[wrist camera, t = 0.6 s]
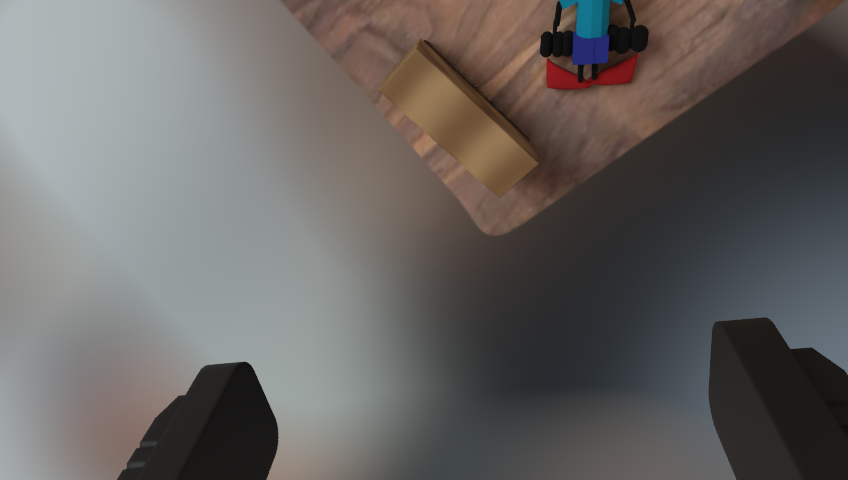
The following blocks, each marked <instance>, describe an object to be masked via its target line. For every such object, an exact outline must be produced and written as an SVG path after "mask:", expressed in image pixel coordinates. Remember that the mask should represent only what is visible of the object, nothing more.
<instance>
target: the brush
mask: <svg viewBox="0 0 848 480" xmlns="http://www.w3.org/2000/svg"><path fill="white" fill-rule="evenodd" d="M379 92H381V93H382V94H383V95H384V96H385V97H386V98H387V99H388V100H390V101H391V102H392V103H393V104H394V105H395V106H396V107H397V108H399V109H400V110H401V111H402V112H403V113H404V114H405V115H406V116H408V117H409V118H410V119H411V120H412V121H413V122H414V123H415V124H417V125H418V126H419V127H420V128H421V129H422V130H423V131H424V132H426V133H427V134H428V135H429V136H430V137H431V138H432V139H433V140H435V141H436V142H437V143H438V144H439V145H440V146H441V147H442V148H444V149H445V150H446V151H447V152H448V153H449V154H450V155H451V156H452V157H454V158H455V159H456V160H457V161H458V162H459V163H460V164H461V165H463V166H464V167H465V168H466V169H467V170H468V171H469V172H470V173H472V174H473V175H474V176H475V177H476V178H477V179H478V180H479V181H481V182H482V183H483V184H484V185H485V186H486V187H487V188H488V189H490V190H491V191H492V192H493V193H494V194H495V195H496V196H497V197H499V198H501V197H502V196H503V195H504V194H505V193H506V192H507V191H508V190H510V189H511V188H512V187H513V186H514V185H515V184H516V183H518V182H519V181H520V180H521V179H522V178H523V177H524V176H525V175H527V174H528V173H529V172H530V171H531V170H532V169H533V168H534V167H536V166H537V165H538V164H539V162H538V156H537V151H536V147H535V146H534V145H533V144H531V143H530V141H529V138H528V137H527V136H526V135H525V134H524V133H522V132H521V131H520V130H519V129H518V128H517V127H516V126H515V125H514V124H513V123H512V122H511V121H510V120H509V119H508V118H507V117H506V116H505V115H504V114H502V113H501V112H500V111H499V110H498V109H497V108H496V107H495V106H494V105H493V104H492V103H491V102H490V101H489V100H488V99H487V98H486V97H485V96H484V95H482V94H481V93H480V92H479V91H478V90H477V89H476V88H475V87H474V86H473V85H472V84H471V83H470V82H469V81H468V80H467V79H466V78H465V77H464V76H462V75H461V74H460V73H459V72H458V71H457V70H456V69H455V68H454V67H453V66H452V65H451V64H450V63H449V62H448V61H447V60H446V59H445V58H444V57H442V56H441V55H440V54H439V53H438V52H437V51H436V50H435V49H434V48H433V47H432V46H431V45H430V44H429V43H428V42H427V41H426V40H424V41H423V40H422V39H419V40H418V41H417V42H416V43H415V45H414V46H413V47H412V48H411V49H410V50H409V51H408V53H407V54H406V55H405V56H404V57H403V58H402V59H401V61H400V62H399V63H398V64H397V65H396V66H395V67H394V69H393V70H392V71H391V72H390V73H389V74H388V75H387V76H386V78H385V79H384V81H383V83H382V85H381V87H380V89H379Z"/></svg>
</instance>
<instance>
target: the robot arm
mask: <svg viewBox="0 0 848 480" xmlns="http://www.w3.org/2000/svg"><path fill="white" fill-rule="evenodd" d="M709 402H710V409H711V414H712V419H713V422H714V426H715V428H716V431H717V434H718V436H719V438H720V441H721V443H722V446H723V448H724V450H725V453H726V455H727V458H728V460H729V462H730V465H731V467H732V470H733V472H734V475H735V477H736V479H737V480H848V375H847V374H846V372H845V371H844V370H843V369H842V368H840V367H839V366H837V365H836V364H834V363H833V362H831V361H830V360H829V359H827V358H826V357H824V356H823V355H822V354H820V353H819V352H817V351H816V350H814V349H813V348H800V349H790V348H789V347H788V345H787V344H786V342H785V340H784V339H783V337H782V336H781V334H780V333H779V331H778V330H777V328H776V327H775V325H774V324H773V322H772V321H771V320H770V319H768V318H754V319H742V320H731V321H719V322H715V324H714V326H713V330H712V344H711V360H710V377H709ZM277 446H278V426H277V422H276V419H275V416H274V414H273V412H272V410H271V408H270V405H269V403H268V401H267V398H266V396H265V394H264V392H263V390H262V387H261V385H260V383H259V381H258V378H257V376H256V374H255V371H254V370H253V368H252V366H251V365H250V364H249V363H247V362H237V363H225V364H214V365H206V366H205V367H203V368H202V369H201V370H200V372H199V373H198V375H197V376H196V378H195V380H194V381H193V383H192V385H191V387H190V388H189V390H188V392H187V393H186V395H183V396H178V397H177V398H176V399H175V400H174V401H173V402H172V403H171V404H170V405H169V406H168V407H167V408H166V409H165V410H163V412H161V413H160V414H159V415H158V416H157V417H156V418H155V420H154V421H153V423H152V425H151V426H150V428H149V429H148V431H147V432H146V434H145V436H144V437H143V439H142V441H141V442H140V448H137V449H136V450H135V452H134V453H133V455H132V456H131V458H130V460H129V461H128V463H127V469H126V470H123V471H122V472H121V474H120V476H119V477H118V479H117V480H266V479H267V476H268V474H269V471H270V468H271V465H272V463H273V460H274V458H275V455H276V451H277Z"/></svg>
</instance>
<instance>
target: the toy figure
mask: <svg viewBox="0 0 848 480" xmlns="http://www.w3.org/2000/svg"><path fill="white" fill-rule="evenodd" d="M612 1H614V2H616V3H618V4H620V5H621V4H622V2H623V1H624V2H625V4H626V7H627V10H628V13H629V16H630V19H631V22H630V29H628V28H627V27H621V28H619V27H618V26H617V25H614V24H611V25H609V13H610V0H559V1H558V2H557V6H556V13H555V19H554V23H553V35H552V33H551V32H548V31H547V32H544V33H543V34H542V35H541V45H540V54H541V55H542V56H543V57H549V56H550V55H551V53H552V54H553V55H554V56H556V57H559V56H561V55H563V56H566V57H568V56H570V55H571V54H572V61H573V65H578V75H575V74H573V73H571V72H569V71H567V70H565V69H563V68H561V67H559V66H557V65H556V64H554V63H552V62H551V61H550V60H549V59H548V58H547V87H548V88H553V89H582V88H588V87H591V84H597V85H613V84H624V83H630V82H631V80H632V77H633V75H634V71H635V67H636V62H637V58H638V53H637V54H636V55H634V56H633V57H632V58H630V59H628V60H626V61H624V62H622V63H620V64H618V65H615V66H613V67H611V68H609V69H607V70H604V71H602V72H600V73H598V74H597V71H598V63H607V62H608V51H614V50H615V51H616V52H617V53H619V54H624V53H626V52H627V51H628V50H629V49H630V48H631V49H632V50H633V51H634V52H641V51H643V50H644V49H645V48H646V47H647V42H648V34H649V32H648V29H647V28H646V27H645V26H643V25H638V26H636V27H634V23H635V22H636V17H635V14H634V11H633V8H632V5H631V2H630V0H612ZM576 3H577V20H576V32H572V31H565V32H564V33H562V32H560V31H559V32H557V27H558V26H559V24H560V18H561V12H562V8H563V9H565V8H567V7H569V6H571V5H573V4H576ZM584 64H592V77H591V78H589V79H588V80H586V79H584V78H583V68H584ZM590 83H591V84H590Z"/></svg>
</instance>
